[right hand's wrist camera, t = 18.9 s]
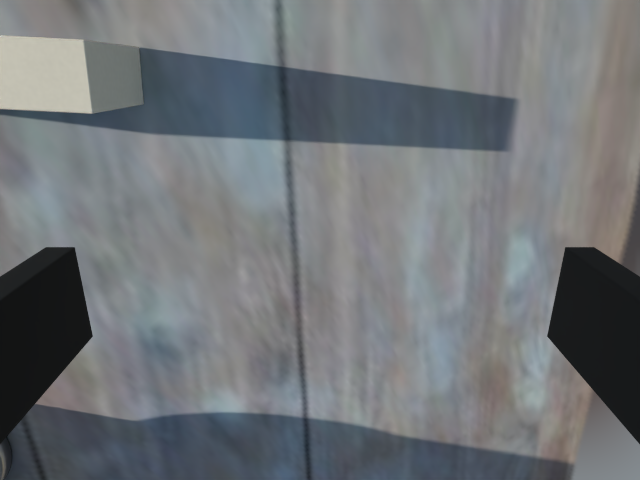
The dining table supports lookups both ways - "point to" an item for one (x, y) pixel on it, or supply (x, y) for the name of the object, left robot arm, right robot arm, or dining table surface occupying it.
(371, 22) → the dining table surface
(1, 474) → the left robot arm
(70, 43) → the bar
